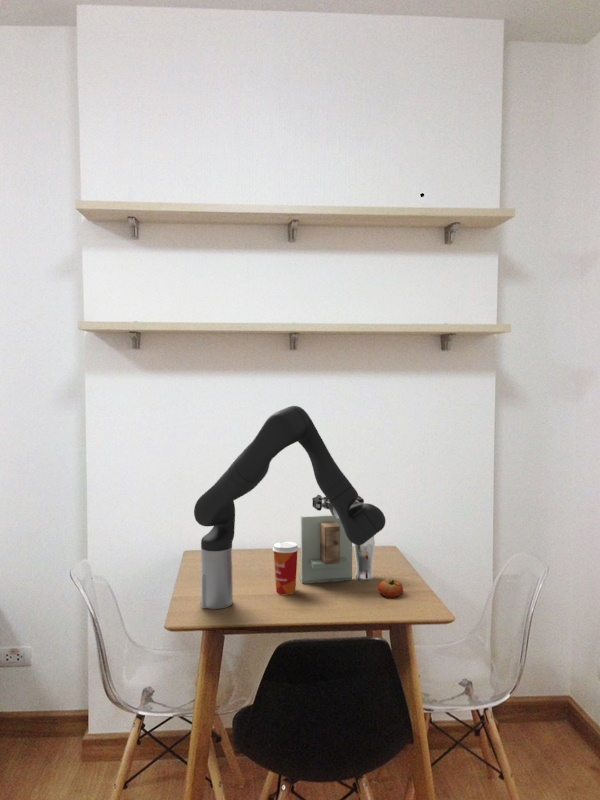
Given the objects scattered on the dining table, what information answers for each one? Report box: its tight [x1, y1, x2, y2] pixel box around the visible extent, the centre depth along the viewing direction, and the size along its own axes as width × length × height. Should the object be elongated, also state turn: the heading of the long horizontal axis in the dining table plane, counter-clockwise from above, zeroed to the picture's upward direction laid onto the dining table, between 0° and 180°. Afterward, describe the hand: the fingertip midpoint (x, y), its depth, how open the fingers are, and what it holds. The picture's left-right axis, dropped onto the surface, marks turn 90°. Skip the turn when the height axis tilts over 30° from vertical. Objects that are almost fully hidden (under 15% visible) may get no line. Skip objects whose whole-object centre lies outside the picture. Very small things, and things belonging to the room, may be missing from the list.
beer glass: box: [353, 535, 376, 582], centre depth 212 cm, size 7×7×15 cm
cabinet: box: [320, 522, 340, 564], centre depth 204 cm, size 5×7×12 cm
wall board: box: [298, 513, 353, 584], centre depth 208 cm, size 17×10×22 cm, turn 101°
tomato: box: [377, 578, 404, 599], centre depth 197 cm, size 8×7×7 cm
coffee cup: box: [272, 541, 300, 595], centre depth 199 cm, size 8×8×15 cm
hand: (332, 497), depth 188 cm, fingers open, 8 cm apart
